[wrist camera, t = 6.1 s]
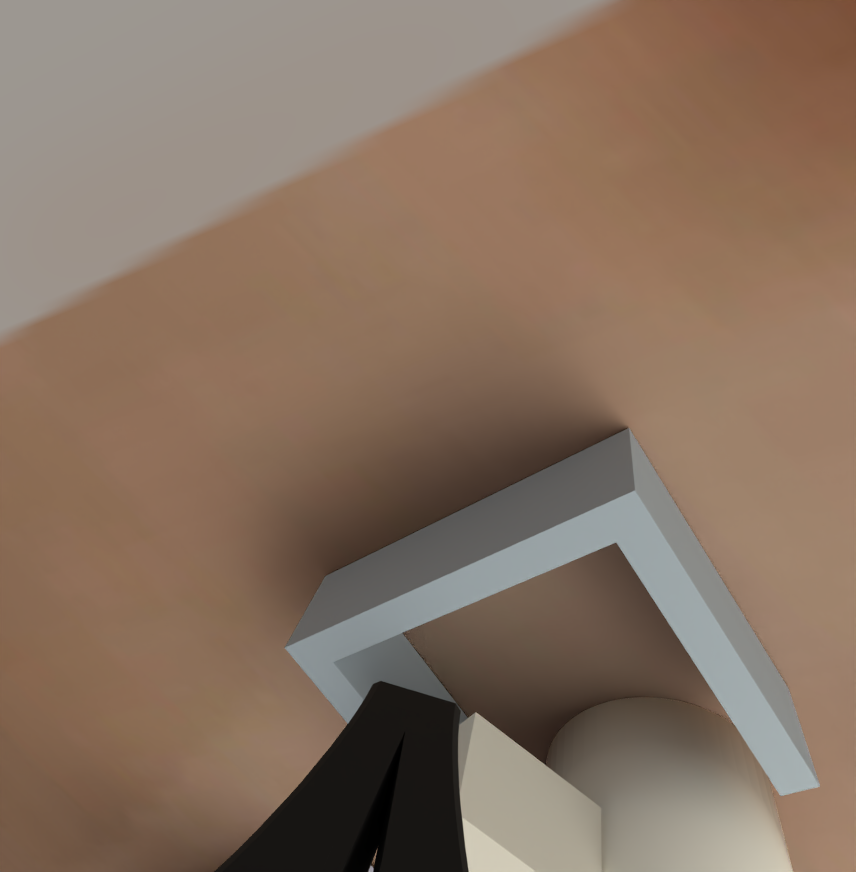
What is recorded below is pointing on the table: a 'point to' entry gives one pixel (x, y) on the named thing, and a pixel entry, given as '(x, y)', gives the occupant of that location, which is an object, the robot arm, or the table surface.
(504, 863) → the cream egg with arms
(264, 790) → the table surface
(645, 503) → the holder
